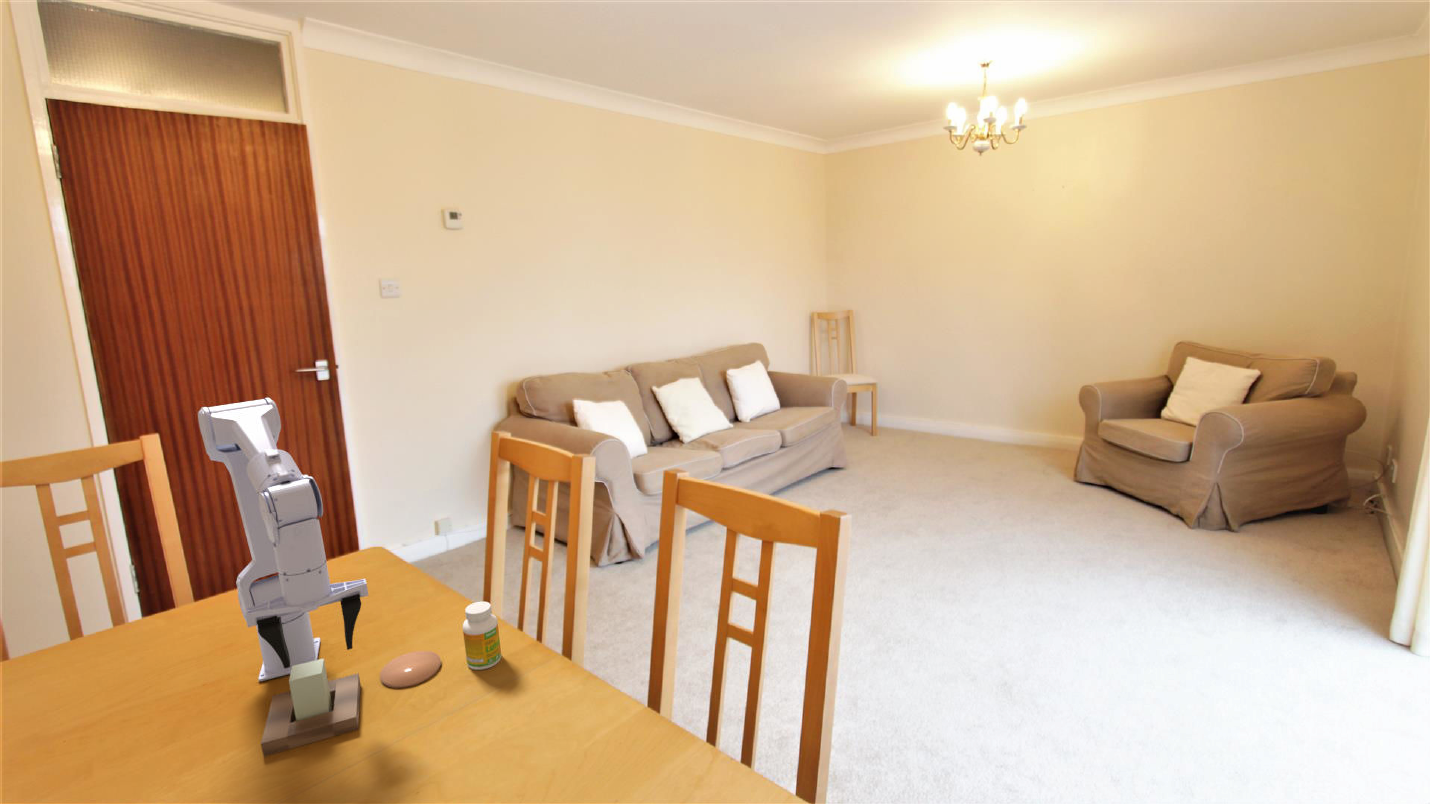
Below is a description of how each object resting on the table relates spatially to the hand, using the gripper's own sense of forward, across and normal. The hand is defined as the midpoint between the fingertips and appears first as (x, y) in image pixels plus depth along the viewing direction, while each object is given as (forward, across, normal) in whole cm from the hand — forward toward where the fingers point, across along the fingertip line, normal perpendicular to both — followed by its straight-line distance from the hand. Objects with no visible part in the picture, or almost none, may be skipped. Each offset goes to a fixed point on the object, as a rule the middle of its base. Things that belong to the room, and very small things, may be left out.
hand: (318, 655), depth 96 cm
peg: (+10, -2, +2) cm, 11 cm away
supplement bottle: (+11, +22, +2) cm, 25 cm away
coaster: (+10, +12, +6) cm, 17 cm away
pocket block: (+10, -2, +2) cm, 11 cm away
